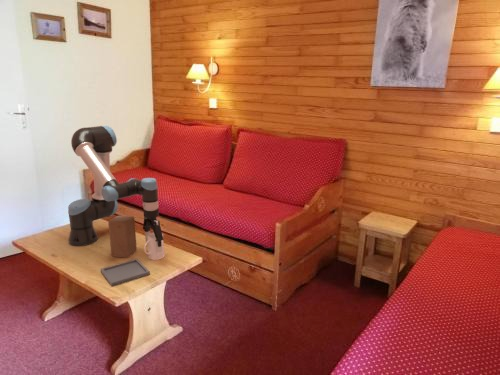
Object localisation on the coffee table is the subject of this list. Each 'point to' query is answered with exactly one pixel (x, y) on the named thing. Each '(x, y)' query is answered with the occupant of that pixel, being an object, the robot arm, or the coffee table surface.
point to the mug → (153, 248)
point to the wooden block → (122, 236)
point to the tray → (124, 272)
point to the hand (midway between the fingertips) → (153, 247)
